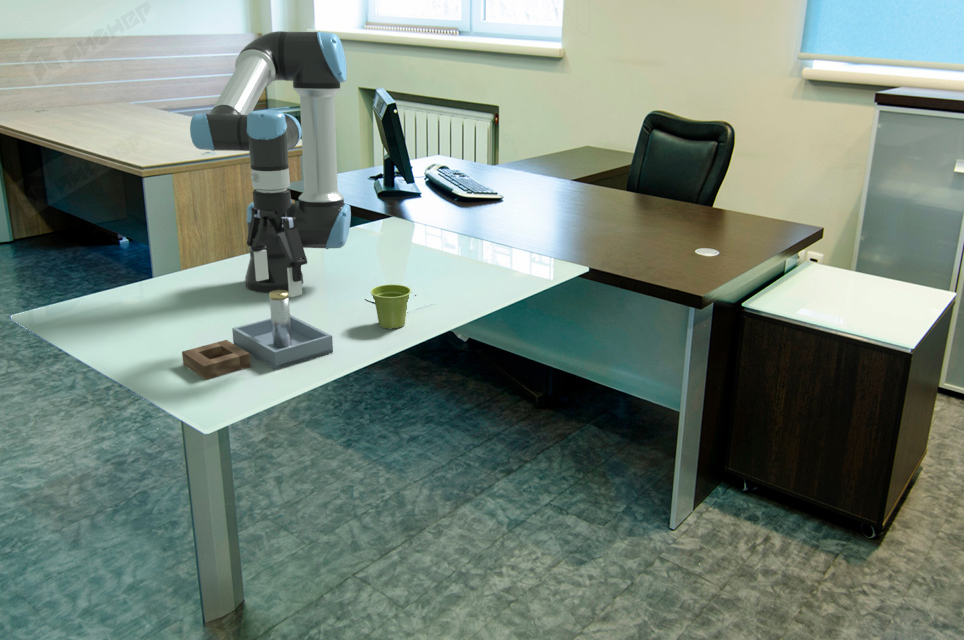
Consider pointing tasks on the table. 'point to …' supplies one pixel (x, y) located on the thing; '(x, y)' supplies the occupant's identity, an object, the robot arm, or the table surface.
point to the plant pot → (391, 304)
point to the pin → (280, 318)
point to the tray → (304, 347)
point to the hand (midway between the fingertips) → (278, 287)
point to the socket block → (216, 359)
